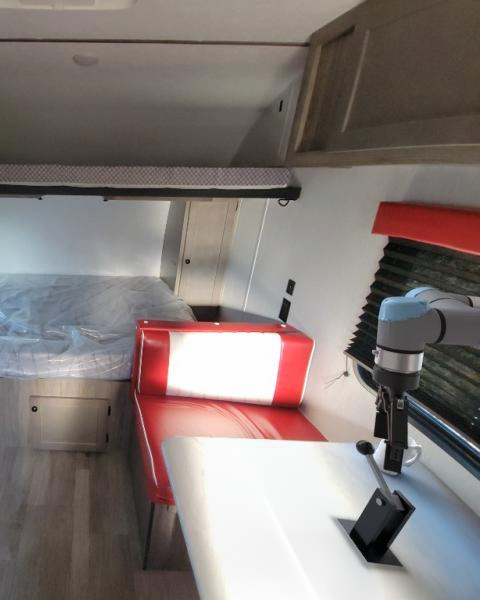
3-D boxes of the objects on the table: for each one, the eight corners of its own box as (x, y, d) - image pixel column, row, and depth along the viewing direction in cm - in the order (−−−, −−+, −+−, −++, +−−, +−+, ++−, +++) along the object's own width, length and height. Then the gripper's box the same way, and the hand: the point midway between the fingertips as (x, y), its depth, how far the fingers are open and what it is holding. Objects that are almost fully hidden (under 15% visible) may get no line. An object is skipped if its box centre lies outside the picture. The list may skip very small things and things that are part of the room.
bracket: (335, 521, 84) (361, 476, 78) (367, 525, 83) (395, 480, 78) (364, 565, 74) (396, 517, 68) (400, 570, 74) (435, 522, 68)
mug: (376, 472, 100) (394, 442, 96) (365, 456, 106) (381, 426, 102) (415, 483, 98) (436, 452, 93) (402, 466, 104) (420, 436, 99)
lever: (349, 442, 85) (359, 437, 82) (363, 444, 84) (373, 438, 82) (381, 511, 74) (393, 507, 71) (397, 513, 74) (410, 509, 71)
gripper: (366, 347, 86) (358, 422, 90) (384, 386, 65) (373, 480, 69) (406, 351, 81) (396, 430, 85) (438, 394, 61) (423, 494, 65)
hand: (385, 453), depth 77 cm, fingers open, 13 cm apart
